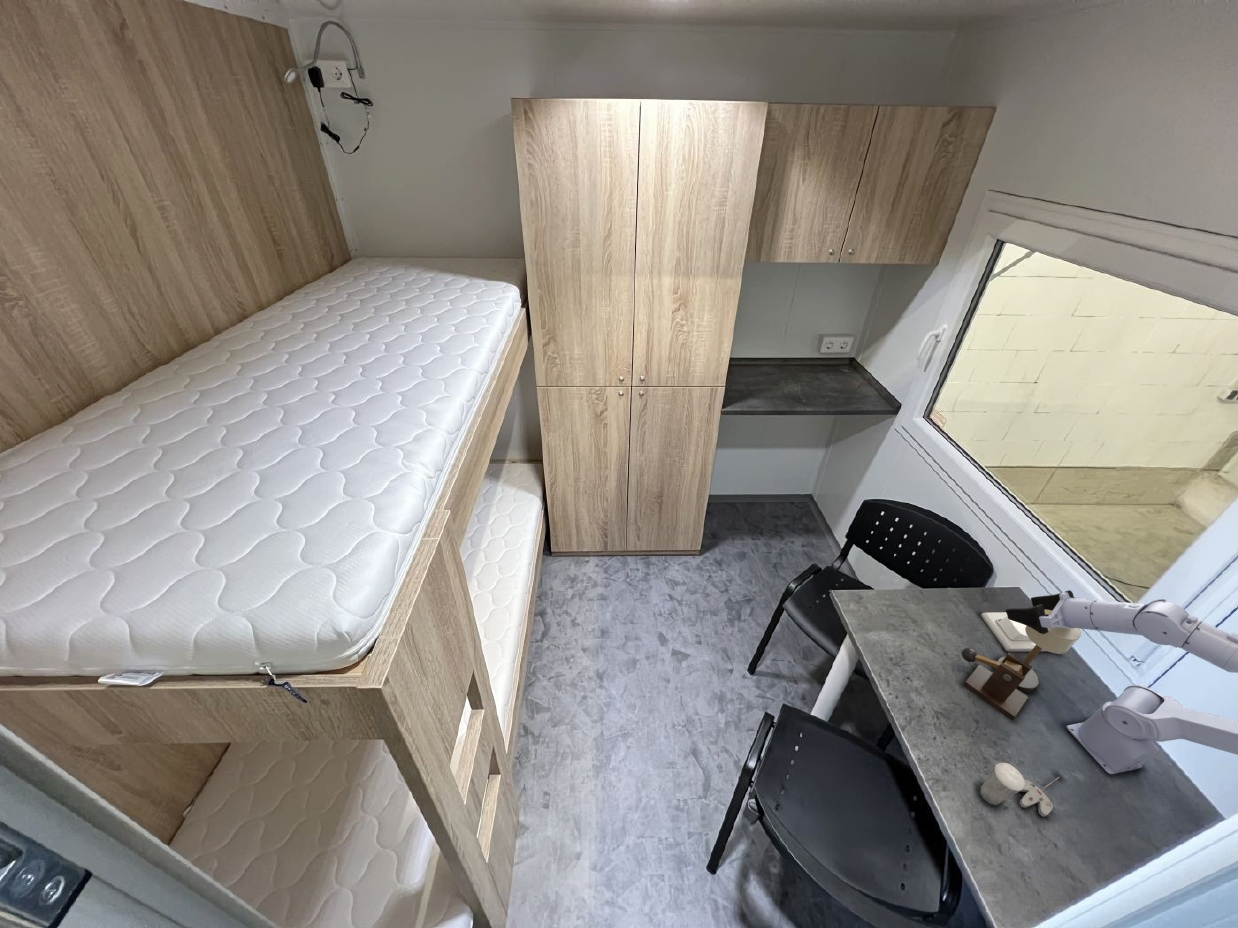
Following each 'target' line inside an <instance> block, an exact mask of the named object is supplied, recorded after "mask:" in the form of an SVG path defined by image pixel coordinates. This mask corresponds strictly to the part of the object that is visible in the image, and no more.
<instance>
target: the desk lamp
mask: <svg viewBox="0 0 1238 928" xmlns="http://www.w3.org/2000/svg"><path fill="white" fill-rule="evenodd" d="M1051 612H1052V610H1045V614H1048V616H1049V615H1050V614H1051ZM1025 631H1026V634H1027V636H1028V637H1029V639H1030V640H1031V641H1032V642H1033V643H1035V644H1036V645H1035V647H1034V648H1033V649H1032V650H1031V651H1029V652H1028V654H1027V655H1026V656H1025V657H1024V658H1023V661H1024V662H1026V663H1027V664H1029V665H1030V664H1031V663H1032V662H1033V661H1034V659H1035V658H1036V657H1037V656H1038V655H1039V653H1040V652H1042V651H1041V650H1042V649H1044V650H1046V651H1045V652H1048V653H1052V654H1057V655H1061V654H1065V653H1067V652H1068V651H1069V650H1070V649H1071V648H1072V647H1073V645H1074V644H1075V643H1076V642H1077V641H1079V639H1080V638H1081V636H1082V632H1081V628H1074V629H1072V628H1062V627H1055V628H1048V633H1046V634H1041V633H1039V632H1037V631H1036V630H1034V629H1032V628H1031V627H1029V626H1026V628H1025ZM1005 657H1006V656H1001V657H999V658H998V660H996V661H997V662H1000V663H1001V662H1002V661H1003V660H1004V658H1005ZM993 669H994V671H995V670H996V668H995V667H993ZM1039 683H1040V681H1039V677H1038V675H1037V673H1036V672H1035V671H1034V669H1033V667H1032V668H1031V670H1030V671H1029V672H1028V673H1027V674H1026V676H1025V679H1024V680H1023V681H1022V682H1021V683H1020V685H1019V686H1018V687H1017V688H1016V689H1017V690H1019V691H1020V692H1022V693H1031V692H1033V691H1034V690H1035V689H1036V688H1037V687H1038V686H1039Z"/></svg>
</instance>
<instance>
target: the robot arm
mask: <svg viewBox="0 0 1238 928" xmlns="http://www.w3.org/2000/svg"><path fill="white" fill-rule="evenodd" d="M1030 601H1031V604H1032V606H1030V607H1018V608H1017V607H1014V608H1013V607H1012V608H1008V609H1006V610H1005V612H1006V613H1007V616H1008V619H1009V620H1012V621H1015V622H1018V623H1021V624H1024V625H1026V626H1029V627H1031V628H1032V629H1034V630H1036V631H1037V632H1039V633H1041V634H1046V633H1048V628H1055V627H1062V628H1072V629H1074V628H1079V629H1080V630H1081V629H1082V630H1089V631H1098V632H1106V633H1107V632H1110V633H1116V634H1125V635H1135V636H1141V637H1143V638H1145V639H1147V640H1149V641H1150V642H1151V643H1153V644H1156V645H1161V646H1171V647H1173V648H1175V649H1176V648H1179V649H1181V650H1183V651H1185V652H1187V653H1189V654H1191V655H1193V656H1195V657H1197V658H1199V659H1201V660H1204V661H1205V662H1207V663H1209V664H1211V665H1213V666H1216V667H1218V668H1220V669H1221V670H1223V671H1226V672H1228V673H1231V674H1233V673H1236V674H1238V633H1235V632H1233V631H1232V632H1230V633H1228V632H1227V631H1225V630H1223V629H1220V628H1218V627H1216V626H1213V625H1212V624H1209V623H1207V622H1206V621H1203V620H1201V619H1199V617H1197V616H1195V615H1193V614H1190V613H1189V612H1187V611H1186V609H1185V608H1183V607H1181V606H1180V605H1178V604H1176V603H1173V602H1170V601H1167V600H1166V599H1164V598H1158V599H1155V600H1154V599H1153V600H1152V601H1150V602H1148V603H1135V602H1124V601H1111V600H1110V601H1109V600H1097V599H1096V600H1094V599H1089V598H1088V597H1087V598H1086V597H1075V596H1074V593H1073V591H1071V589H1068V590H1065V591H1062V592H1059V593H1055V594H1049V595H1048V594H1047V595H1039V596H1033V597H1030ZM1045 610H1052V612H1051V614H1050V615H1049V616H1048V614H1045ZM1065 727H1066V729H1067V730H1068V732H1069V733H1070V734H1071V735H1072V736H1073V737H1074V738H1075V740H1077V742H1078V743H1079V744H1080V745H1081V746H1082V747H1083V748H1084V749H1085V750H1086V751H1087V753H1089V755H1090V756H1091V757H1092V758H1093V759H1094V760H1095V762H1097V763H1098V764H1099V766H1100V767H1101V768H1103V771H1105V773H1107V774H1108V775H1115V774H1121V773H1124V772H1128V771H1134V770H1138V769H1141V768H1143V765H1145V764H1146V763H1148V762H1149V761H1150V760H1151V759H1153V758H1155V757H1156V756H1158V754H1159V753H1160V749H1159V748H1158V747H1157V745H1156V744H1155V743H1154V742H1158V743H1161V742H1162V743H1163V742H1169V741H1170V742H1171V741H1176V740H1184V741H1188V742H1190V743H1195V744H1199V745H1203V746H1206V747H1209V748H1212V749H1216V750H1218V751H1223V752H1226V753H1230V754H1233V755H1237V756H1238V720H1236V719H1232V718H1228V717H1225V716H1220V715H1216V714H1212V713H1208V712H1204V711H1200V710H1196V709H1193V708H1187V707H1184V706H1183V704H1181V703H1180V702H1179V701H1178V700H1177V699H1176V698H1175V697H1172V696H1169V695H1165V694H1162V693H1160V692H1158V691H1155V690H1154V689H1152V688H1150V687H1147V686H1145V685H1142V684H1141V685H1140V684H1130V685H1128V686H1126V687H1125V688H1124V689H1123V691H1122V692H1121V693H1120V695H1118V696H1117V697H1116V699H1114V700H1113V701H1106V702H1105V703H1104V704H1103V705H1101V706H1100V707H1099V708H1098V709H1096V711H1095V712H1093V713H1092V714H1091V716H1089V717H1088V718H1087V719H1086V720H1085V721H1084V722H1083V721H1082V722H1078V723H1074V724H1068V725H1066V726H1065Z"/></svg>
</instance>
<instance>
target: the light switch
mask: <svg viewBox="0 0 1238 928" xmlns="http://www.w3.org/2000/svg"><path fill="white" fill-rule="evenodd" d="M980 616H981V618H982V619H983V621H984V623H985V624H986V625H987V627H988V628H989V629H990V630H991V632H992V633H993V635H994V636H995V637H996V639H997V641H998V642H999V643H1000V645H1001V646H1002V647H1003V649H1004V650H1005V651H1006V652H1008V653H1009V652H1010V653H1012V652H1016V653H1017V652H1020V653H1021V652H1022V653H1023V652H1030V651H1031V650H1032V649H1033V648H1034V647H1035V645H1036V644H1035V643H1033V642H1032V641H1031V640H1030V639H1029V637H1028V636H1027V634H1026V631H1025V628H1026V625H1024V624H1021V623H1018V622H1015V621H1012V620H1009V619H1008V616H1007V613H1006V611H1005V612H1004V611H1003V612H998V611H997V612H995V611H994V612H982V613H981V614H980ZM1040 652H1047V651H1046V650H1044V649H1042V650H1041V651H1040Z"/></svg>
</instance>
